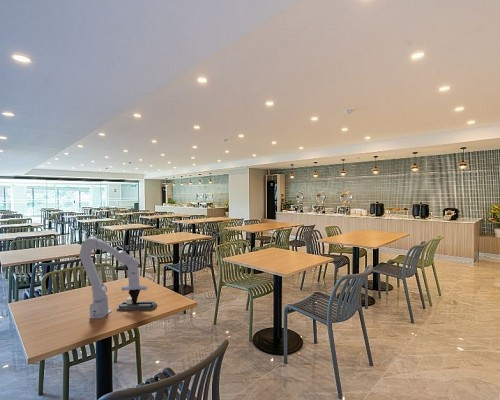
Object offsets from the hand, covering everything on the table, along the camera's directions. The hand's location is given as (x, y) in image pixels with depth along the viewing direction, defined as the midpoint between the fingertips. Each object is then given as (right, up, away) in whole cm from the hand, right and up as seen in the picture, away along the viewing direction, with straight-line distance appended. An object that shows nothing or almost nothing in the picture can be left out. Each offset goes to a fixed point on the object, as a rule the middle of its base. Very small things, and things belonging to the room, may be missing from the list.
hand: (135, 302), depth 165 cm
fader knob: (-3, -2, 0) cm, 3 cm away
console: (+1, -3, 0) cm, 4 cm away
